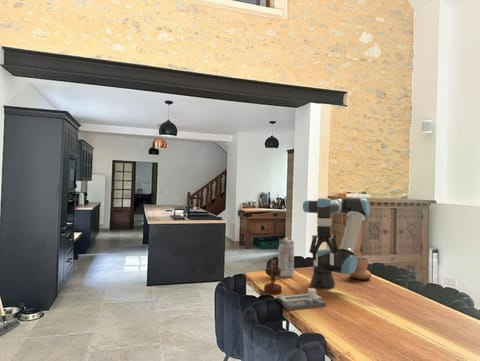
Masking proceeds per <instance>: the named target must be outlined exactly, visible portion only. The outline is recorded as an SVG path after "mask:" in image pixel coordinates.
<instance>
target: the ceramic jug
mask: <svg viewBox="0 0 480 361" xmlns="http://www.w3.org/2000/svg"><path fill="white" fill-rule="evenodd" d="M355 257H356V258H357V267H356V270H355V271H354V273H352V274H350V275H349V276H350V277H351V278H353V279H355V280H361V281H366V280H369V279H371V277H372V272H370V271H369V270H368V269H367V268H368V267H369V264H370V265H371V264H372V262H371V261H370V258H368V257H365V256H362V257H361V256H355Z"/></svg>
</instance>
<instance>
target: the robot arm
mask: <svg viewBox="0 0 480 361" xmlns="http://www.w3.org/2000/svg"><path fill="white" fill-rule="evenodd" d="M370 204H371V203H370V201H369V200H368V199H367V198H361V197H360V198H359V197H357V198H356V197H342V198H341V197H340V198H333V199H332V198H330V197H329V198H327V197H326V198H325V197H324V198H321V197H320V198H318V199H317V200H309V199H308V200H305V201H303V203H302V210H303V212H305V213H311V214H317V220H316V222H317V223H316V224H317V226H316V235H311V243H310V248H309V251H308V252H309V253H310V254H312V261H313V265H312V266H313V268H312V269H313V272H312V276H311V280H310V286H311V287H312V288H314V289H319V290H331V289H334V288H335V287H336V286H335V284H336V283H335V280H334V277H333V273H338V274H342V275H349V276H350V274H352V273H354V271H355V270H356V267H357V258H356V257H357V256H356V253H355V248H356V244H357V241H358V237H359V233H360V229H361V227H362V222H363V221H365V219H366V217H369V216H370V214H371V205H370ZM336 214H340V215H341V214H342V215H346V216H347V217H348V218H347V221H346V226H345V229H344V232H343V236H342V240H341V243H340V246H339V248H338V245H337V244H338V243H337V241H336V236H337V235H335V234H331V232H332V226H331V225H332V215H336ZM322 243H326V244H327V246H328V248H329V249H327V248H326V249H320V248H321V245H322Z"/></svg>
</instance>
